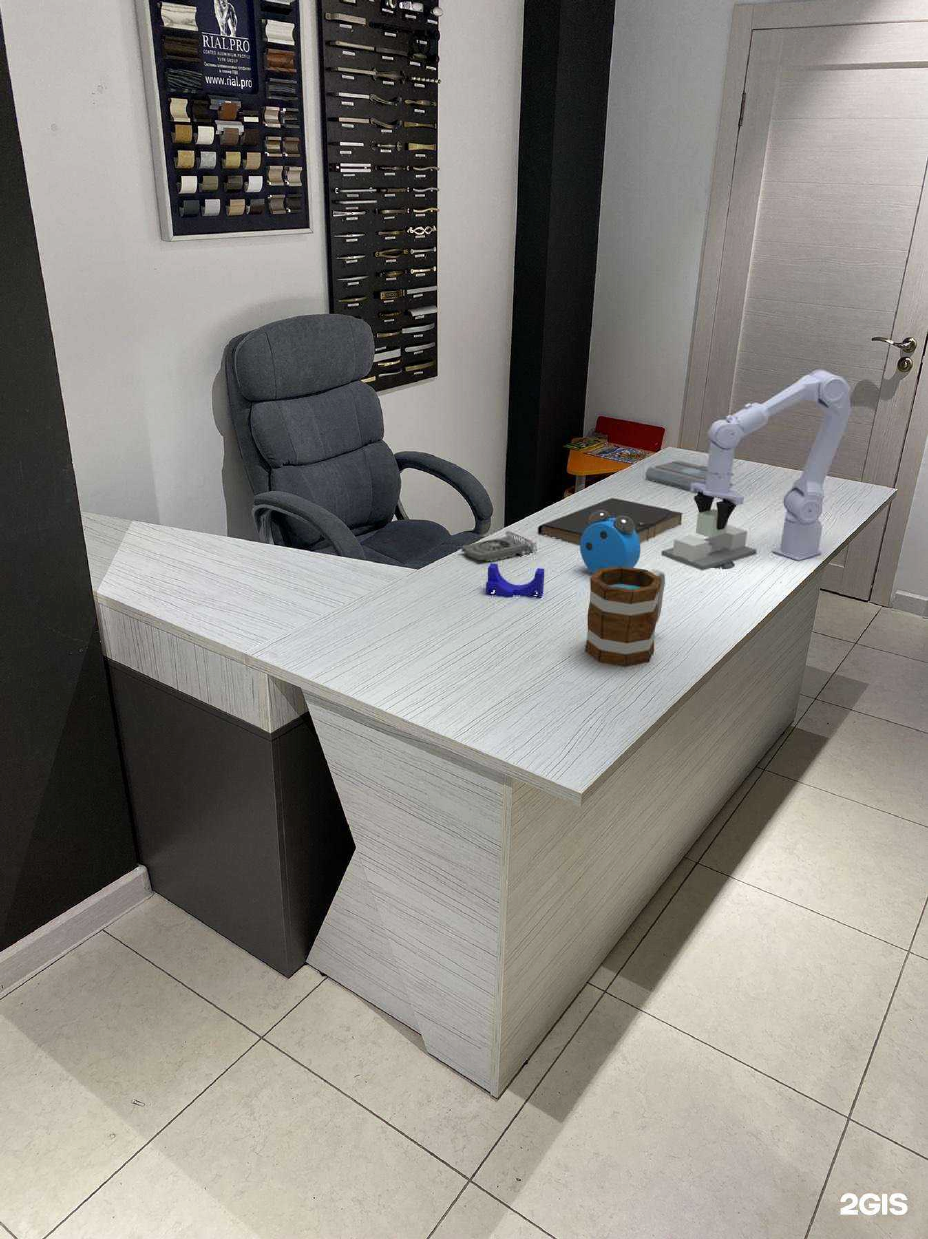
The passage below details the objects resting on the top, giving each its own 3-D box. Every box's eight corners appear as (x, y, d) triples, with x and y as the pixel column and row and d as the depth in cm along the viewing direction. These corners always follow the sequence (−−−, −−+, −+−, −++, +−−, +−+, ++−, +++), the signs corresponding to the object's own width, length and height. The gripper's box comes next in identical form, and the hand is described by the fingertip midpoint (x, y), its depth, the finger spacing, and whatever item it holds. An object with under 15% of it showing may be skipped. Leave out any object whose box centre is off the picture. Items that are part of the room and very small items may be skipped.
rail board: (714, 539, 246) (715, 534, 245) (756, 553, 236) (756, 548, 235) (661, 554, 234) (662, 549, 234) (702, 570, 225) (703, 564, 224)
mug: (628, 673, 175) (635, 598, 169) (570, 650, 184) (574, 578, 178) (685, 641, 188) (694, 570, 182) (628, 622, 197) (635, 553, 191)
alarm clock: (638, 579, 219) (644, 516, 213) (623, 586, 215) (629, 522, 209) (592, 565, 227) (596, 504, 221) (576, 571, 223) (580, 510, 217)
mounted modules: (725, 539, 243) (727, 524, 241) (745, 546, 238) (747, 530, 237) (672, 554, 231) (674, 539, 230) (691, 561, 227) (693, 546, 226)
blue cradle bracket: (485, 595, 209) (486, 570, 207) (490, 588, 213) (491, 563, 211) (539, 601, 206) (540, 575, 204) (543, 594, 210) (544, 568, 208)
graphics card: (509, 528, 242) (537, 541, 233) (509, 542, 244) (537, 555, 234) (453, 540, 234) (480, 553, 224) (453, 555, 235) (480, 568, 226)
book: (645, 481, 298) (646, 465, 296) (677, 472, 308) (678, 457, 306) (700, 496, 284) (702, 480, 282) (732, 486, 294) (734, 470, 292)
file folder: (617, 541, 232) (538, 522, 247) (616, 557, 234) (537, 537, 248) (684, 511, 255) (607, 495, 270) (682, 526, 257) (606, 509, 271)
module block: (711, 528, 236) (713, 509, 234) (726, 533, 233) (728, 513, 231) (695, 532, 233) (698, 513, 231) (710, 537, 230) (712, 517, 228)
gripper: (684, 467, 230) (678, 521, 235) (732, 481, 219) (725, 537, 225) (703, 463, 234) (697, 516, 239) (752, 476, 223) (744, 531, 229)
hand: (712, 526), depth 232 cm, fingers closed on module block, 4 cm apart
